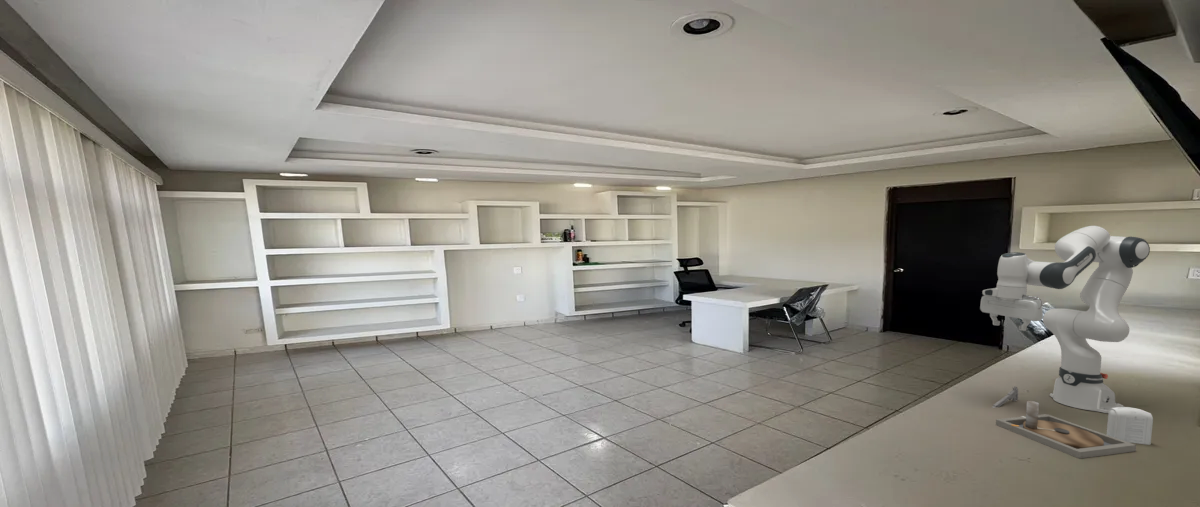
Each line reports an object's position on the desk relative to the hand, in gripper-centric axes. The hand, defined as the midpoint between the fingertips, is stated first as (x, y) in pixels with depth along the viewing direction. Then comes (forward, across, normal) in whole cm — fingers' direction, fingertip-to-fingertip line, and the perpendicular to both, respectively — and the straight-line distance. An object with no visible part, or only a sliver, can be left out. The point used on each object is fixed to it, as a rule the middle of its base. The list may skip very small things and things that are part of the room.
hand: (1008, 327), depth 176 cm
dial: (+32, -25, +10) cm, 42 cm away
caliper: (+34, +4, -6) cm, 34 cm away
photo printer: (+33, -31, -10) cm, 47 cm away
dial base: (+33, -25, +10) cm, 43 cm away
